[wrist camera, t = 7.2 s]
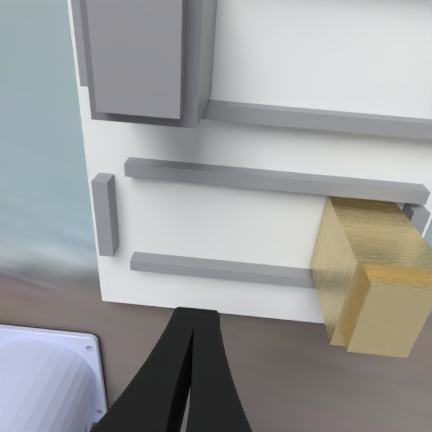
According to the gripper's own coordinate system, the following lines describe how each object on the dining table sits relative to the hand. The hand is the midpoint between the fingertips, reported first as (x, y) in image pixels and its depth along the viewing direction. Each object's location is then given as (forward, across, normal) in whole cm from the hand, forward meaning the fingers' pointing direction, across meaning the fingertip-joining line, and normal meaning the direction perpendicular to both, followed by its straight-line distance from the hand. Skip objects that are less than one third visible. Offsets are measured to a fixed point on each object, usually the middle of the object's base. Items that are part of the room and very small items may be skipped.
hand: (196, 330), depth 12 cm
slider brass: (+7, -7, 0) cm, 9 cm away
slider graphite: (+7, +2, -8) cm, 11 cm away
